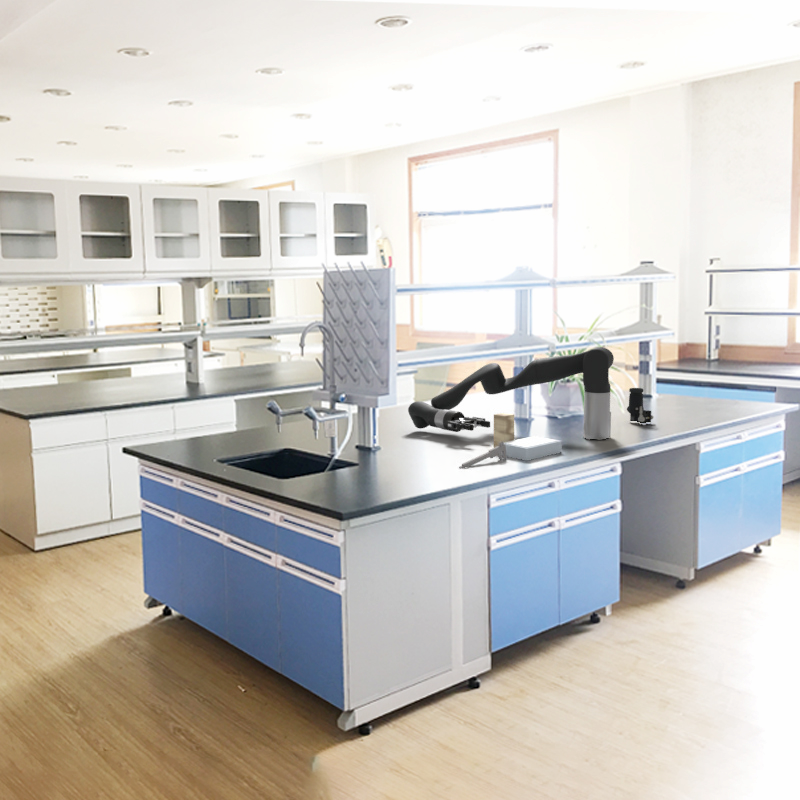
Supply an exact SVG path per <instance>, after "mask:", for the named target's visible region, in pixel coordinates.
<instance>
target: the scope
mask: <svg viewBox="0 0 800 800" xmlns="http://www.w3.org/2000/svg"><path fill="white" fill-rule="evenodd" d="M628 391H629V396H628V398H629V399H628V406H627V407H626V410H627V412H628V413H629V416H630V417H629V419H630V420H629V422H630V421H637V422H640V423H646V422H651V423H652V420H653V419H654V415H653V414H652V410H645V409H644V394H643V393H644V388H641V387H631V388H629V390H628Z"/></svg>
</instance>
